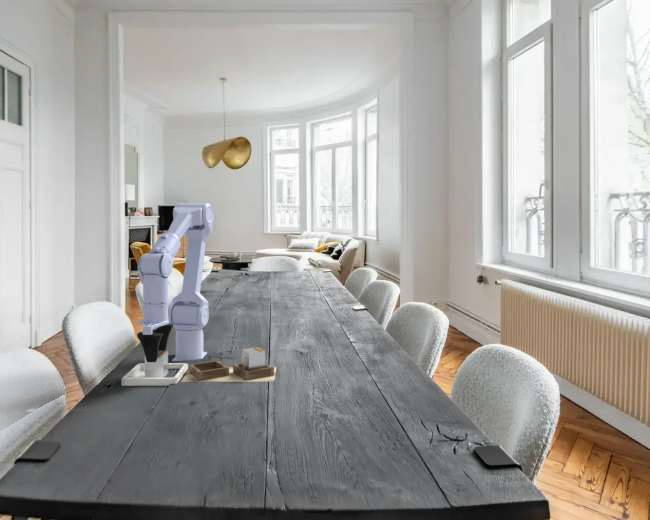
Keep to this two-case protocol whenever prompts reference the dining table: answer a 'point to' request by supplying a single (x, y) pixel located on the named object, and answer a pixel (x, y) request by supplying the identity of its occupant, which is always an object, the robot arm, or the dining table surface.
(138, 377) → the white square tray
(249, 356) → the seated billet
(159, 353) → the loose billet
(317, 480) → the dining table surface
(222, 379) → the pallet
